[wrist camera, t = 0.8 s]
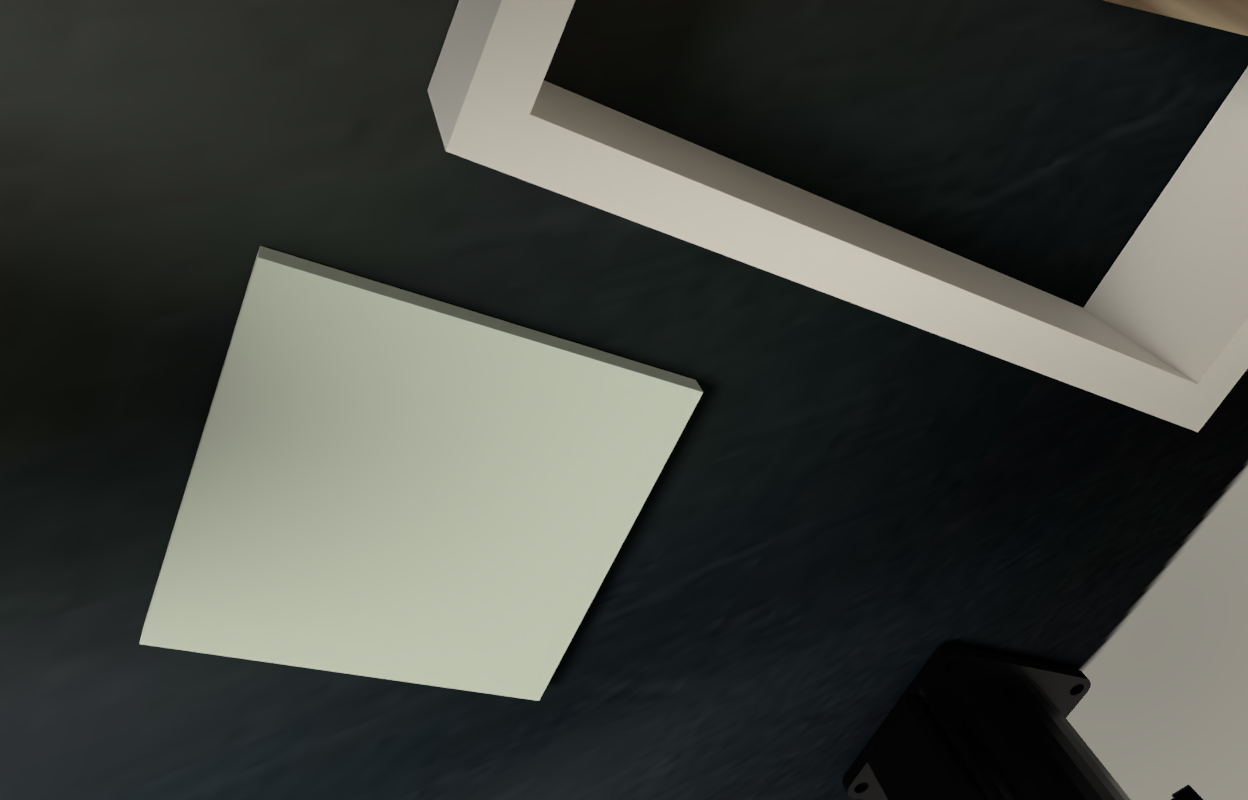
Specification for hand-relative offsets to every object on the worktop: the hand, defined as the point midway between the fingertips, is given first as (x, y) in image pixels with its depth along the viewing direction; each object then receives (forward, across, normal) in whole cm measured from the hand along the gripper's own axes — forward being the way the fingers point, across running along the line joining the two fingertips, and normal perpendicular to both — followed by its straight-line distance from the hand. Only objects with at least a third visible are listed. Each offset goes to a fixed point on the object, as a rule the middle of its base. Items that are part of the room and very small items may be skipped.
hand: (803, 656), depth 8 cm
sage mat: (+14, +5, +7) cm, 16 cm away
